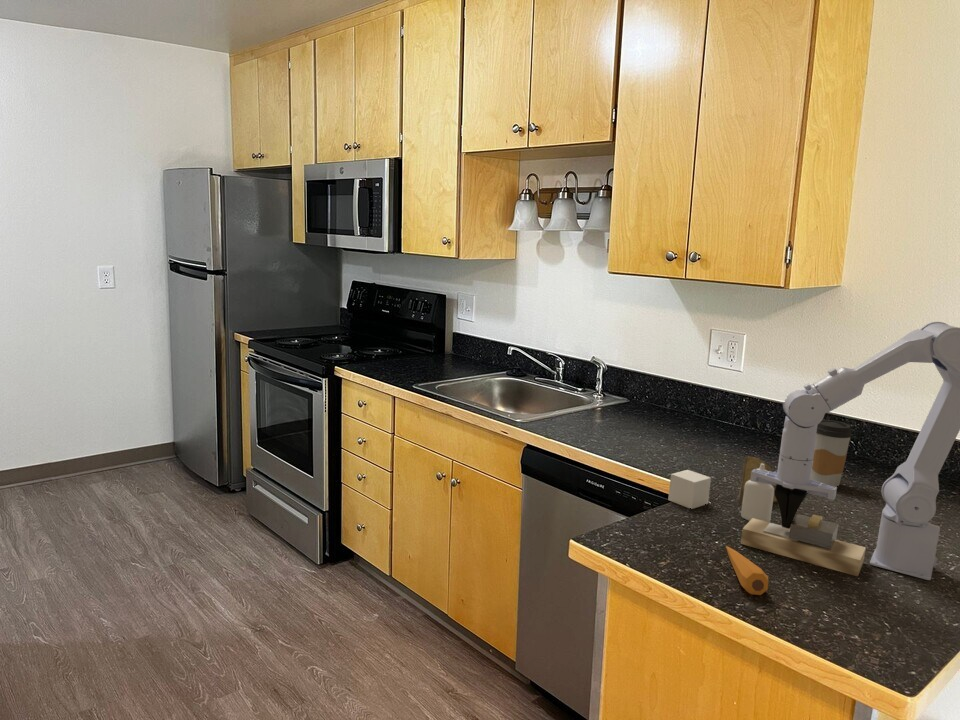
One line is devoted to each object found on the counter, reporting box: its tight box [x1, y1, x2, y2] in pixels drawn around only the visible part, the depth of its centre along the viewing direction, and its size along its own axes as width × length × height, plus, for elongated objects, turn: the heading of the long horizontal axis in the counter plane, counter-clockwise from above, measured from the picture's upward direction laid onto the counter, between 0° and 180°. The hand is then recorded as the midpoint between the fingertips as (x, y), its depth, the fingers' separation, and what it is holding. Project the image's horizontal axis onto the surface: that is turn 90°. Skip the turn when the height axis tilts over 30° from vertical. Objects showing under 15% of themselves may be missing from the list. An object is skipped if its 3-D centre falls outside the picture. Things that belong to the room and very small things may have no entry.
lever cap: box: [789, 513, 839, 549], centre depth 135 cm, size 7×6×4 cm
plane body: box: [740, 518, 867, 577], centre depth 136 cm, size 20×7×3 cm, turn 56°
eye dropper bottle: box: [740, 464, 774, 523], centre depth 150 cm, size 4×6×12 cm
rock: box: [738, 456, 777, 506], centre depth 162 cm, size 11×9×10 cm
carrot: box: [725, 545, 769, 596], centre depth 128 cm, size 20×4×4 cm, turn 176°
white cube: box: [667, 469, 712, 510], centre depth 159 cm, size 6×6×6 cm
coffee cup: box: [811, 419, 853, 488], centre depth 176 cm, size 8×8×15 cm
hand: (786, 526), depth 137 cm, fingers closed
